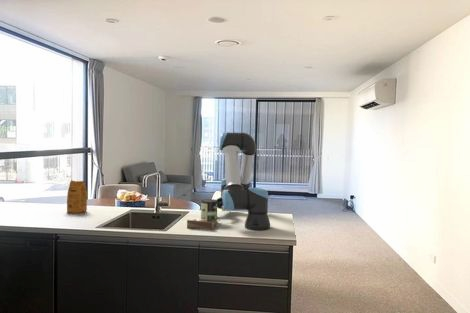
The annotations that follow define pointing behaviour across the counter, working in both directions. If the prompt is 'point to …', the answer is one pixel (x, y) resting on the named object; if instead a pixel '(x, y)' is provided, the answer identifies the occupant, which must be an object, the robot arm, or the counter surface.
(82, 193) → the coffee package
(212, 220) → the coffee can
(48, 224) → the counter surface
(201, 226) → the brown wooden tray
